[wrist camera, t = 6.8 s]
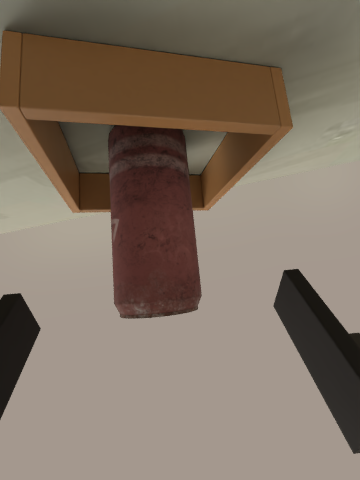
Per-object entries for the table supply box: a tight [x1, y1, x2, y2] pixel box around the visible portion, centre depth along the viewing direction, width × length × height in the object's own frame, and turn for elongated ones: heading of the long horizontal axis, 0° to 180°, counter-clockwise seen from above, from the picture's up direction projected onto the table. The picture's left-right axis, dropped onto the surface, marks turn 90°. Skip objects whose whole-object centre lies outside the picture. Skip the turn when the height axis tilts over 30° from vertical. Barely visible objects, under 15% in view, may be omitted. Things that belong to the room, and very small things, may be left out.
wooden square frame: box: [0, 31, 293, 213], centre depth 19 cm, size 15×15×4 cm
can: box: [108, 125, 201, 318], centre depth 18 cm, size 6×6×14 cm
